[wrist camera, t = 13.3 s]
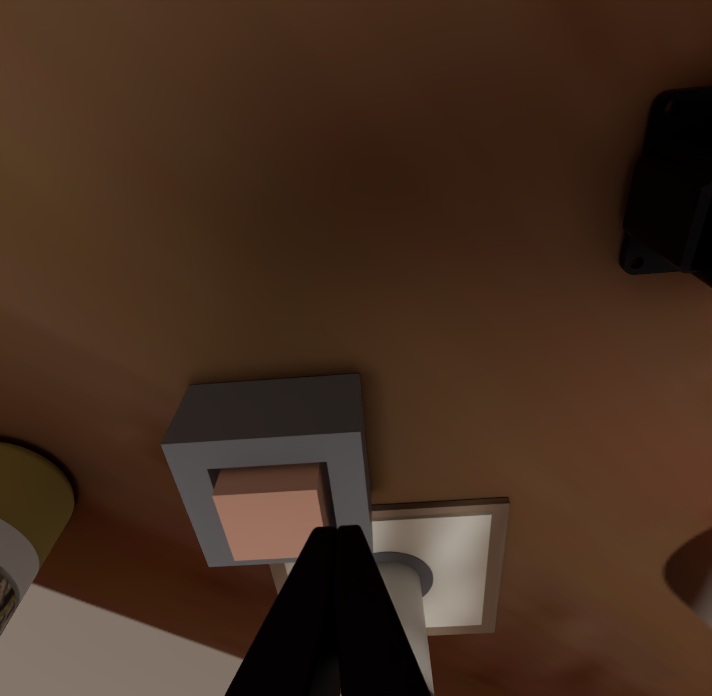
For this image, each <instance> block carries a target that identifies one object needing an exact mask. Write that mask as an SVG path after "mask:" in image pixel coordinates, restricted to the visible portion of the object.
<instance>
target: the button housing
mask: <svg viewBox="0 0 712 696" xmlns="http://www.w3.org/2000/svg"><path fill="white" fill-rule="evenodd" d="M161 446H162V449H163V452H164V454H165V457H166V459H167V462H168V464H169V467H170V469H171V472H172V474H173V477H174V480H175V482H176V485H177V487H178V490H179V492H180V495H181V497H182V500H183V502H184V505H185V508H186V510H187V513H188V515H189V518H190V520H191V523H192V525H193V528H194V530H195V533H196V535H197V538H198V541H199V543H200V546H201V548H202V551H203V553H204V556H205V558H206V561H207V563H208V566H209V567H218V566H236V565H255V564H274V563H293V562H296V560H297V558H279V559H260V560H242V561H234V558H233V555H232V552H231V549H230V546H229V544H228V541H227V538H226V535H225V532H224V529H223V526H222V523H221V520H220V517H219V514H218V512H217V509H216V506H215V503H214V500H213V497H212V495H213V492H214V488H215V485H216V482H217V479H218V476H219V472H220V469H221V468H234V467H250V466H267V465H283V464H299V463H315V462H327V466H328V473H329V479H330V485H331V492H332V497H331V516H330V526H335V527H336V528H337V529H338V527H339V526H341V525H356V524H357V525H359V526H360V527H361V528H362V530H363V533H364V535H365V537H366V540H367V542H368V545H369V547H370V549H371V552H372V554H373V532H372V504H371V487H370V476H369V466H368V456H367V445H366V435H365V424H364V414H363V404H362V393H361V383H360V373H358V374H344V375H330V376H315V377H301V378H286V379H272V380H257V381H243V382H228V383H214V384H199V385H189V387H188V389H187V391H186V393H185V395H184V397H183V399H182V401H181V404H180V406H179V408H178V410H177V412H176V414H175V416H174V418H173V420H172V422H171V424H170V426H169V429H168V431H167V433H166V435H165V437H164V439H163V441H162V443H161Z"/></svg>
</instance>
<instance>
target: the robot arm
mask: <svg viewBox="0 0 712 696" xmlns="http://www.w3.org/2000/svg"><path fill="white" fill-rule="evenodd" d="M671 100H674V101H675V106H674V108H673V110H672V111H671V112H670V113H668V114H666V113H665V108H666V106H667V104H668V103H669V102H670V101H671ZM623 229H624V230H625V236H624V241H623V246H622V250H621V255H620V260H619V265H620V266H621V268H622V269H623V270H624V271H625V272H627V273H629V274H632V275H637V274H650V273H664V272H677V271H681V272H683V273H691V274H692V275H694V276H695V277H697V278H698V279H700V280H701V281H702V282H704V283H705V284H707V285H708V286H710V287H711V288H712V86H706V87H695V88H684V89H673V90H668V91H665V92H663V93H662V94H660V95H659V96H658V97H657V98H656V100H655V101H654V103H653V106H652V109H651V114H650V118H649V123H648V128H647V132H646V137H645V142H644V147H643V151H642V156H641V157H640V158H639V159H638V160H637V161H636V164H635V169H634V173H633V178H632V183H631V188H630V193H629V197H628V202H627V207H626V212H625V217H624V222H623ZM636 257H639V259H638V261H637V262H636V263H635V264H633V265H630V263H631V261H632V260H633V259H634V258H636ZM340 688H341V694H342V696H431V693H430V691H429V689H428V686H427V684H426V681H425V679H424V677H423V674H422V672H421V669H420V667H419V665H418V662H417V660H416V657H415V655H414V653H413V650H412V648H411V645H410V643H409V641H408V638H407V636H406V633H405V631H404V629H403V626H402V624H401V621H400V619H399V617H398V614H397V612H396V609H395V607H394V605H393V602H392V600H391V597H390V595H389V593H388V590H387V588H386V585H385V583H384V581H383V578H382V576H381V573H380V571H379V569H378V566H377V564H376V561H375V559H374V557H373V554H372V552H371V549H370V547H369V545H368V542H367V540H366V537H365V535H364V533H363V530H362V528H361V527H360V526H359V525H357V524H356V525H341V526H339V527H338V529H337V528H336V527H335V526H322V527H315V528H314V529H313V530H312V532H311V533H310V535H309V537H308V539H307V541H306V543H305V545H304V547H303V549H302V550H301V552H300V554H299V556H298V558H297V560H296V562H295V564H294V565H293V567H292V569H291V571H290V573H289V575H288V577H287V579H286V581H285V582H284V584H283V586H282V588H281V590H280V592H279V594H278V596H277V598H276V599H275V601H274V603H273V605H272V607H271V609H270V611H269V613H268V615H267V616H266V618H265V620H264V622H263V624H262V626H261V628H260V630H259V631H258V633H257V635H256V637H255V639H254V641H253V643H252V645H251V647H250V648H249V650H248V652H247V654H246V656H245V658H244V660H243V662H242V664H241V666H240V668H239V669H238V671H237V673H236V675H235V677H234V679H233V681H232V682H231V684H230V686H229V688H228V690H227V692H226V694H225V696H340Z"/></svg>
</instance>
